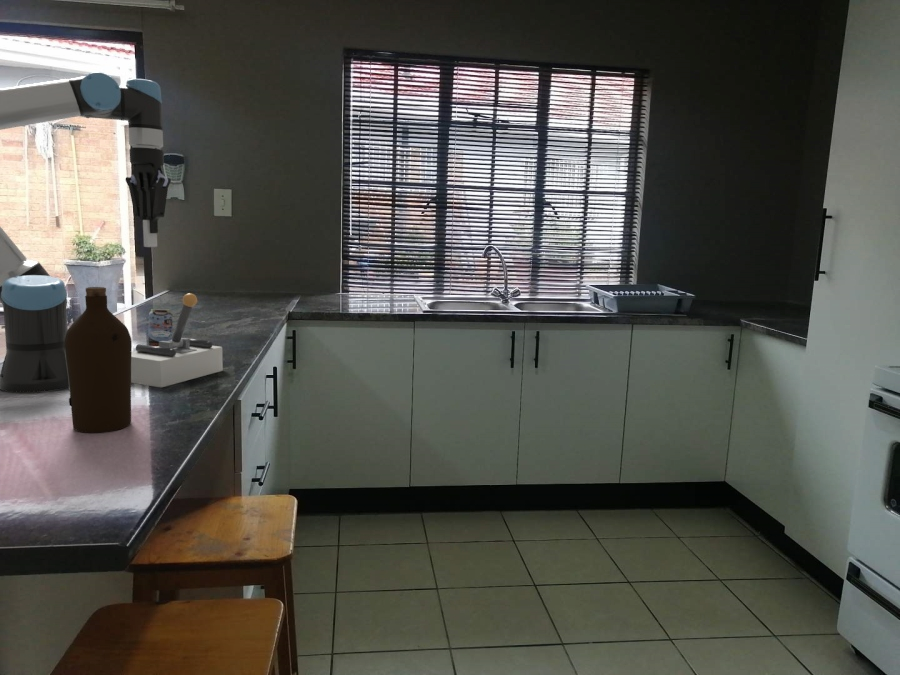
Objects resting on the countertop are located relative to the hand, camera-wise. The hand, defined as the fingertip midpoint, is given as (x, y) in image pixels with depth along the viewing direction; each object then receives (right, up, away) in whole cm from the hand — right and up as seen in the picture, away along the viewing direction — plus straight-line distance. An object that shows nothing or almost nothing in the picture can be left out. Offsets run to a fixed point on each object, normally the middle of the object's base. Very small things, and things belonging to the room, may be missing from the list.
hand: (150, 246), depth 167 cm
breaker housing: (+8, -31, -4) cm, 33 cm away
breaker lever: (+8, -24, -6) cm, 26 cm away
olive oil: (+11, -38, -44) cm, 60 cm away
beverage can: (-7, -26, +22) cm, 35 cm away
